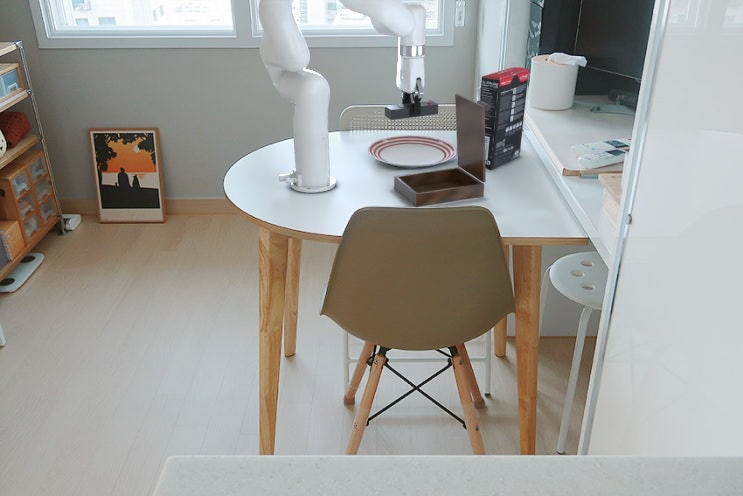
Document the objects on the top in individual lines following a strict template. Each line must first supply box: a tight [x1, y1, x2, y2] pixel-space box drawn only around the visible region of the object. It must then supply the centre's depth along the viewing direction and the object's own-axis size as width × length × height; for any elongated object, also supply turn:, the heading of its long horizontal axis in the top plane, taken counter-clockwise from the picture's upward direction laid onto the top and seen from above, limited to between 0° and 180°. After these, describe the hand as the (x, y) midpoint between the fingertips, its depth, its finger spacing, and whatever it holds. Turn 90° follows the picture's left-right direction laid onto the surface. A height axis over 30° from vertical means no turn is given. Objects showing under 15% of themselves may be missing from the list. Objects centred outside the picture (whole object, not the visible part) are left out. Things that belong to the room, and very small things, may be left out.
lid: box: [454, 93, 491, 184], centre depth 187 cm, size 20×15×5 cm
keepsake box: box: [393, 166, 485, 208], centre depth 189 cm, size 20×15×4 cm
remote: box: [384, 100, 439, 121], centre depth 208 cm, size 15×5×3 cm, turn 111°
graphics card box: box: [480, 66, 530, 170], centre depth 209 cm, size 17×7×27 cm, turn 141°
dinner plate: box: [367, 134, 457, 169], centre depth 217 cm, size 28×27×3 cm
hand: (411, 112), depth 208 cm, fingers closed on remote, 5 cm apart
